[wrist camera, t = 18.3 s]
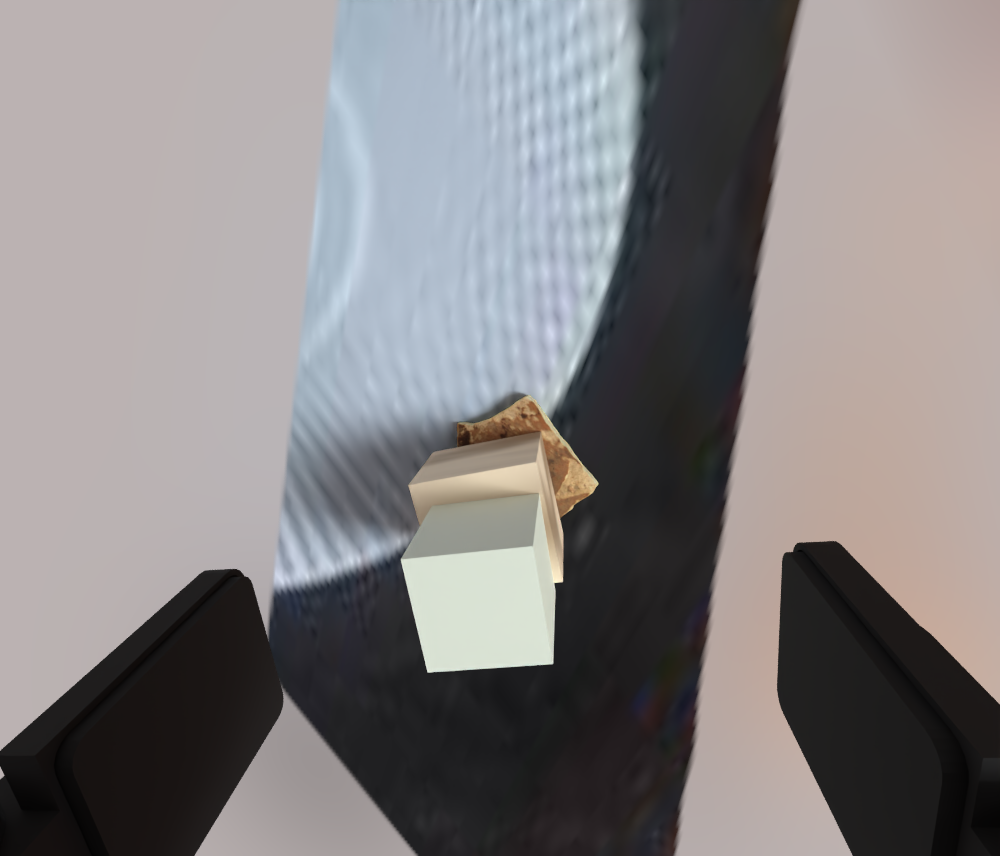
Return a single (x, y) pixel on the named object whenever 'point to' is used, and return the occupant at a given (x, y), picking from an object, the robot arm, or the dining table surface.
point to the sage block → (482, 585)
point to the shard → (563, 463)
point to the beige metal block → (492, 481)
